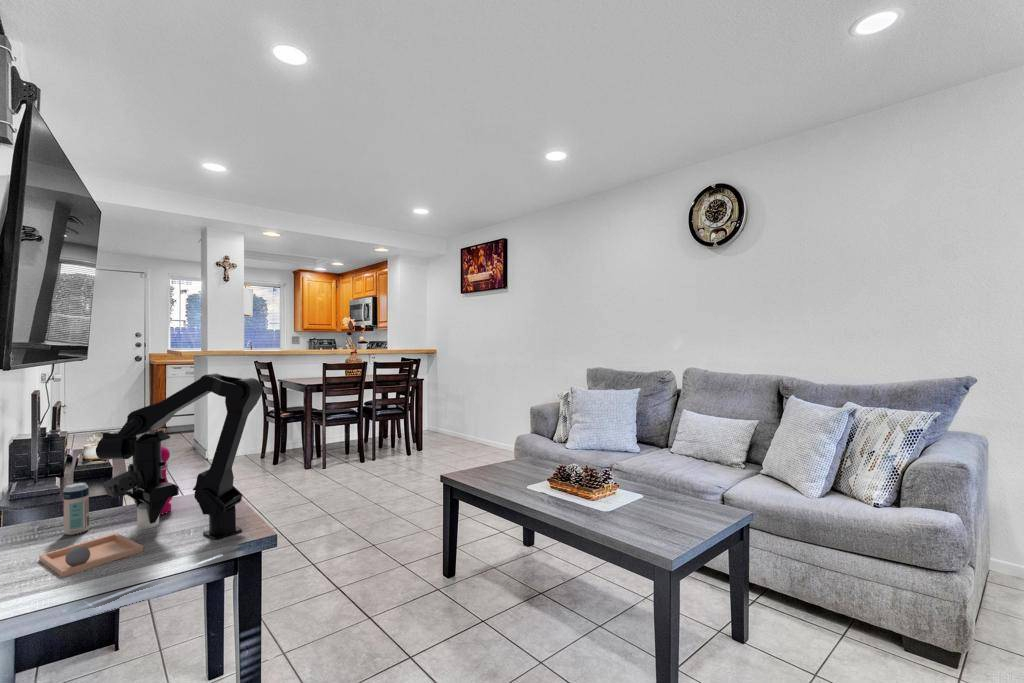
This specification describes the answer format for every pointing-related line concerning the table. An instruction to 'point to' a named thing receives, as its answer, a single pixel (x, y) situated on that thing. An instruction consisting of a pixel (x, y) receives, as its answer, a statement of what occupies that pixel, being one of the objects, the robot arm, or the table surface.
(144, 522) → the cylinder
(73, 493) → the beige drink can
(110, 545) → the tray
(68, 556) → the mixing ball
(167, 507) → the pepper mill
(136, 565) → the table surface
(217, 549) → the table surface
